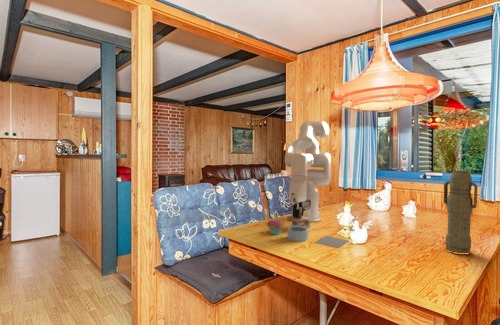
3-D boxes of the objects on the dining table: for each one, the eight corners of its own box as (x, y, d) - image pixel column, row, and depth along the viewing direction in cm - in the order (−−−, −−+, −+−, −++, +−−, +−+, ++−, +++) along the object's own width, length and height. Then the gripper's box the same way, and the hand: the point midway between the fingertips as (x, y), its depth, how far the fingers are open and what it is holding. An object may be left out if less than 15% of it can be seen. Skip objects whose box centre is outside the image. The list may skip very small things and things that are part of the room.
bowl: (294, 235, 148) (294, 225, 148) (311, 238, 142) (311, 228, 142) (284, 239, 140) (284, 229, 140) (301, 243, 134) (301, 232, 134)
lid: (293, 216, 148) (294, 204, 148) (312, 219, 141) (313, 207, 141) (282, 220, 140) (283, 207, 140) (302, 223, 133) (302, 210, 133)
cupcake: (282, 236, 146) (282, 212, 145) (265, 235, 147) (266, 211, 147) (283, 231, 154) (284, 209, 154) (268, 230, 156) (268, 208, 155)
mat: (326, 236, 146) (326, 235, 146) (349, 241, 138) (349, 240, 138) (313, 243, 135) (313, 242, 135) (338, 249, 127) (338, 248, 127)
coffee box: (301, 231, 155) (301, 201, 154) (291, 229, 159) (291, 200, 159) (310, 228, 161) (311, 199, 160) (301, 226, 166) (301, 198, 165)
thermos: (444, 246, 133) (447, 170, 131) (476, 252, 124) (480, 171, 123) (438, 250, 127) (441, 170, 125) (472, 257, 118) (475, 172, 117)
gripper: (300, 177, 149) (299, 212, 149) (282, 179, 136) (282, 217, 136) (313, 178, 144) (312, 214, 145) (297, 180, 131) (296, 220, 132)
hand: (298, 215), depth 140 cm, fingers closed on lid, 3 cm apart
